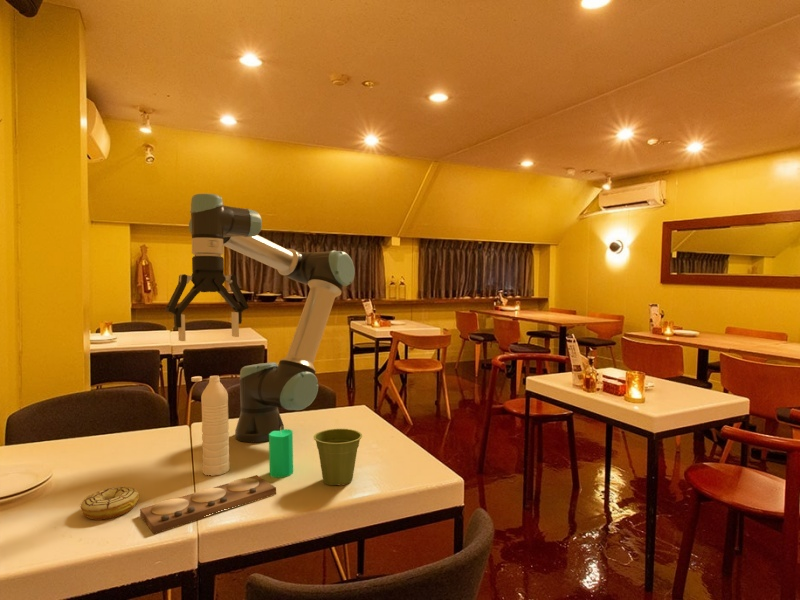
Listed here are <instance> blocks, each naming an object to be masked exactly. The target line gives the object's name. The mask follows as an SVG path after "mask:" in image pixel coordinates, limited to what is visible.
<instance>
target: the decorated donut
mask: <svg viewBox="0 0 800 600" xmlns="http://www.w3.org/2000/svg"><path fill="white" fill-rule="evenodd" d="M139 496H140V494H139V491H138V490H137V489H136V488H135V487H129V486H127V487H125V486H118V487H117V486H116V487H111V488H106V489H103V490H99V491H96V492H94V493H91V494H90V495H88V496H86V497H85V498H84V499H83V500H82V502H81V503H80V506H79V507H80V510H81V513H82V514H83V515H84V516H85V517H86V518H89V519H91V520H93V521H95V520H97V521H99V520H108V519H113V518H118V517H120V516H121V515H125V514H126V513H129V512H131V510H132V509H134V507H135V506H136V505H137V504H138V503H137V502H138V500H139V499H140V498H139Z"/></svg>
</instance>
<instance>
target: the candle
mask: <svg viewBox="0 0 800 600" xmlns="http://www.w3.org/2000/svg"><path fill="white" fill-rule="evenodd" d="M280 429H281V427H280ZM293 434H294V433H293V430H291V429H290V428H289V429H288V428H284V430H280V431H272V432H271V433H270V434H269V441H268V452H269V453H268V454H269V455H268V457H269V458H268V459H269V476H270V477H272V478H286V477H289V476H291V475H293V474H294V443H293V442H294V440H293V439H294V437H293Z"/></svg>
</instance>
